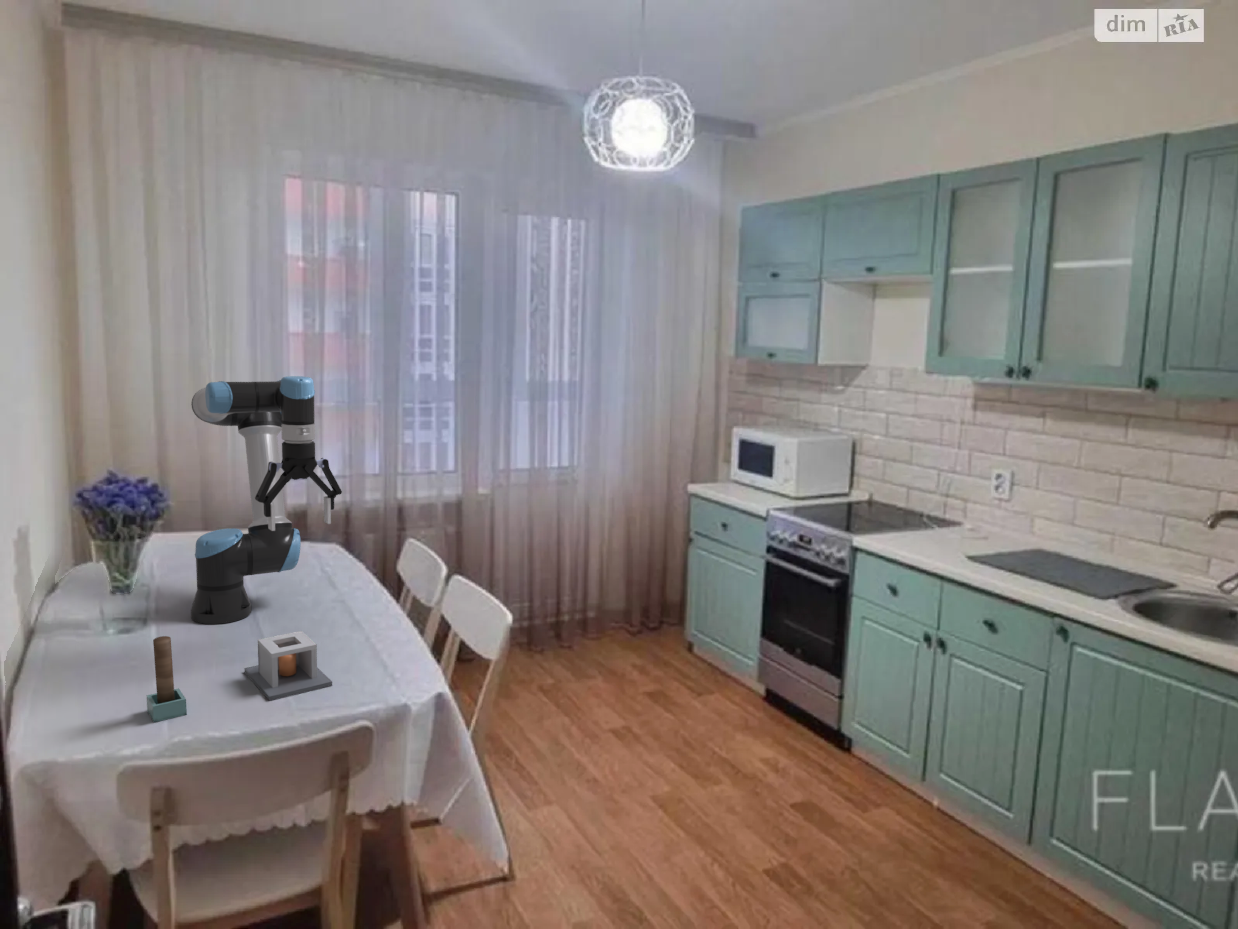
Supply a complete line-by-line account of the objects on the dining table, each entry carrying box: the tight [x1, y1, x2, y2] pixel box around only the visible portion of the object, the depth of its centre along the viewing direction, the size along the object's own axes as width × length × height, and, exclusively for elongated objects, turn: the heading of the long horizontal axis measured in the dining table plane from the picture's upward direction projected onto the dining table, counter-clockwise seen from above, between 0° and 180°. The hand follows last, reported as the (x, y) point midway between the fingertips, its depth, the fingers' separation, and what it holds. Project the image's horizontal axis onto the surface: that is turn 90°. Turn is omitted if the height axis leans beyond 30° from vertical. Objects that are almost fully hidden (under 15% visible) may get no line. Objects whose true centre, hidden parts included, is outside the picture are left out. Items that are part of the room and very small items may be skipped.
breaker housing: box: [244, 630, 333, 702], centre depth 198 cm, size 18×14×9 cm
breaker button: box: [279, 653, 297, 676], centre depth 198 cm, size 4×4×4 cm
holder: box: [146, 687, 188, 723], centre depth 180 cm, size 6×6×4 cm
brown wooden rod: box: [152, 635, 175, 704], centre depth 178 cm, size 3×3×16 cm
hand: (300, 526), depth 211 cm, fingers open, 13 cm apart
